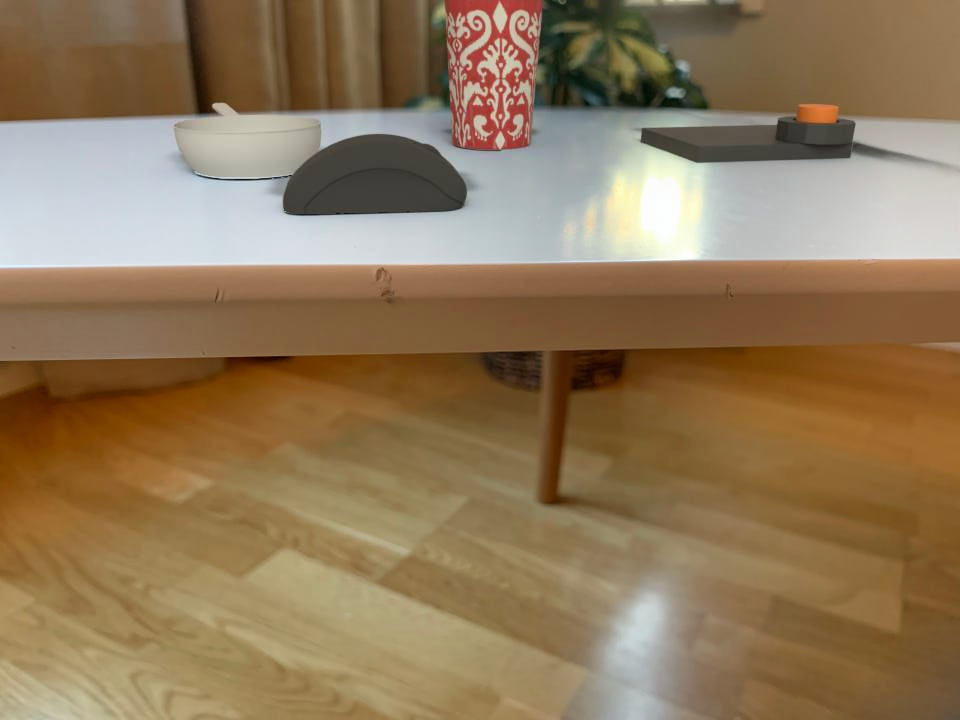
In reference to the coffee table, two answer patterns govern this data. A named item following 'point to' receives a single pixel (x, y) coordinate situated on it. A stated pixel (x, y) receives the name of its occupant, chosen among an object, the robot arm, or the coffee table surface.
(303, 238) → the coffee table surface
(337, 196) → the computer mouse
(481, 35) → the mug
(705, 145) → the scale
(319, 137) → the saucepan
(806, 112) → the button
